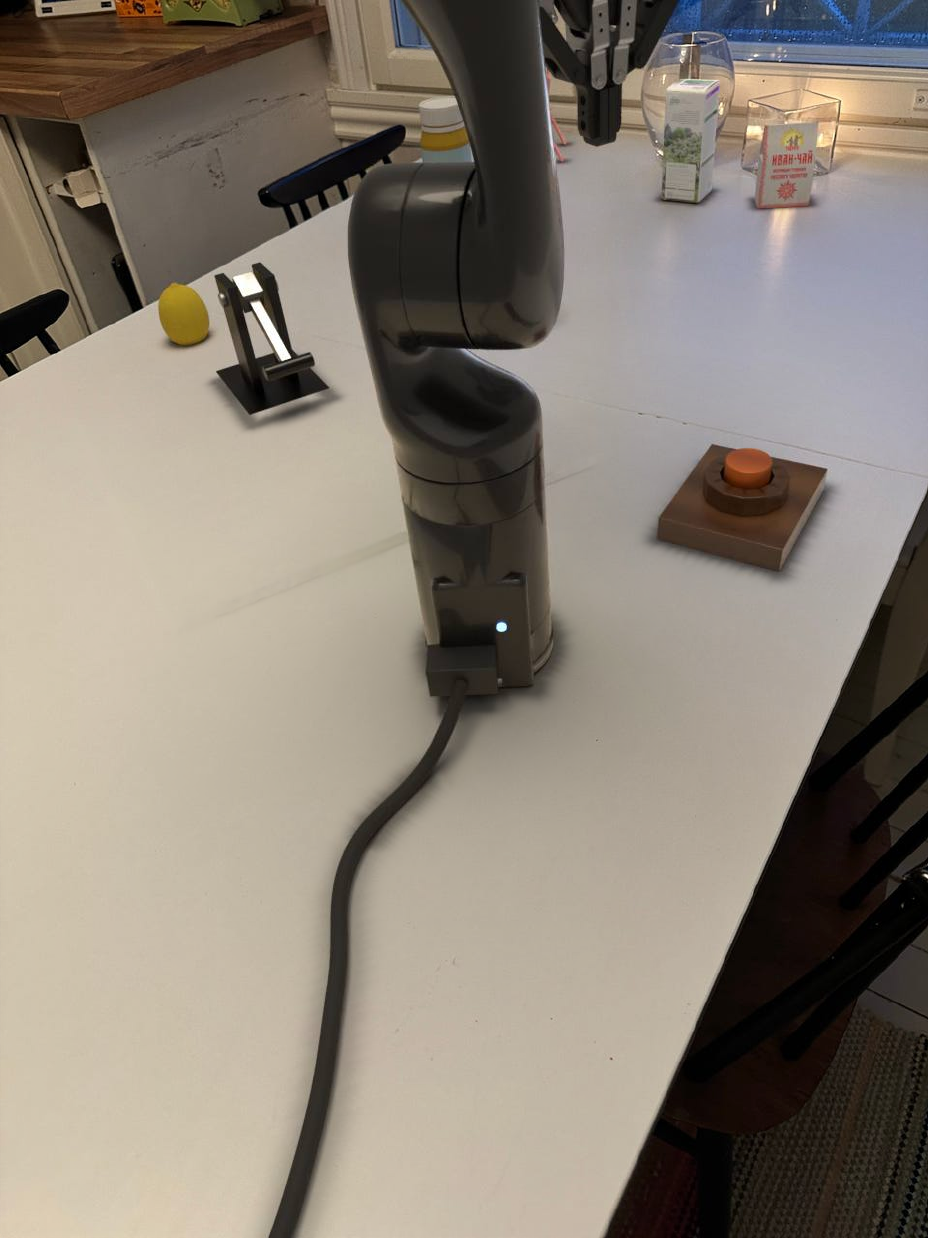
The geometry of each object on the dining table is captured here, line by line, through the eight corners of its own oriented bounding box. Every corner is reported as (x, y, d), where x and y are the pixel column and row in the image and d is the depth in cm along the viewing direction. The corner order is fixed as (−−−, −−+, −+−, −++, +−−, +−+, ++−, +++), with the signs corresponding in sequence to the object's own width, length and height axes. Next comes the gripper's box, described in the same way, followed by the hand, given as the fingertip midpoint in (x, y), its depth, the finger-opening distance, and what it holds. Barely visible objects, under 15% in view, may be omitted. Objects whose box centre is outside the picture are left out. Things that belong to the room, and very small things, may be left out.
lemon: (161, 355, 111) (139, 290, 105) (191, 335, 114) (171, 271, 109) (196, 361, 109) (176, 295, 103) (226, 341, 112) (207, 276, 107)
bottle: (422, 223, 136) (408, 109, 125) (437, 205, 140) (425, 95, 130) (468, 223, 134) (457, 108, 124) (481, 206, 138) (472, 94, 128)
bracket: (332, 398, 99) (306, 280, 90) (252, 425, 96) (219, 307, 88) (292, 357, 107) (266, 246, 98) (218, 381, 104) (184, 269, 96)
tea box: (754, 199, 130) (762, 121, 123) (804, 196, 129) (815, 117, 122) (757, 208, 127) (766, 129, 120) (808, 205, 126) (820, 125, 119)
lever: (315, 372, 93) (315, 356, 91) (268, 387, 91) (267, 371, 89) (266, 283, 96) (265, 266, 94) (221, 297, 95) (218, 280, 93)
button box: (778, 572, 71) (786, 530, 69) (656, 539, 76) (659, 499, 73) (823, 490, 79) (831, 449, 76) (709, 464, 83) (713, 425, 80)
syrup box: (713, 190, 134) (722, 77, 124) (697, 204, 130) (705, 89, 121) (675, 187, 136) (681, 76, 127) (659, 200, 133) (664, 87, 123)
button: (761, 495, 73) (763, 476, 72) (716, 484, 74) (718, 466, 73) (775, 471, 75) (778, 453, 74) (732, 462, 77) (734, 443, 75)
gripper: (540, -155, 51) (550, 176, 63) (728, -185, 55) (705, 131, 67) (474, -153, 56) (495, 152, 68) (651, -181, 60) (642, 112, 72)
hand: (599, 141), depth 67 cm, fingers closed
